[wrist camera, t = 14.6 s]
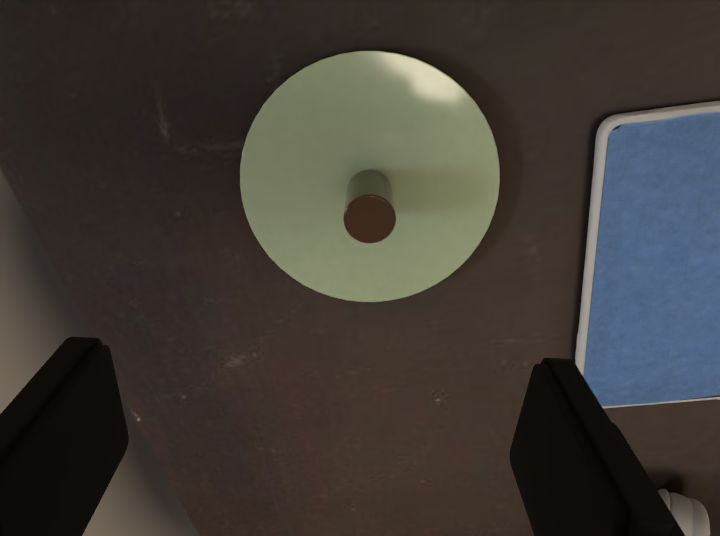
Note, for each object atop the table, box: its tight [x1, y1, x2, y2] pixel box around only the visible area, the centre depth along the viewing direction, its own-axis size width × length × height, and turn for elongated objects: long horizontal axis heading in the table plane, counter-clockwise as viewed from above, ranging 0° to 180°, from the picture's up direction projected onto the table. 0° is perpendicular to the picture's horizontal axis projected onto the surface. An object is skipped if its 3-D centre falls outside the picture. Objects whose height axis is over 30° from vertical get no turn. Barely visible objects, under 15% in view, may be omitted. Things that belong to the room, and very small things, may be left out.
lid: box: [240, 50, 500, 302], centre depth 25 cm, size 14×14×5 cm
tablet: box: [575, 101, 720, 408], centre depth 29 cm, size 19×13×1 cm, turn 7°
